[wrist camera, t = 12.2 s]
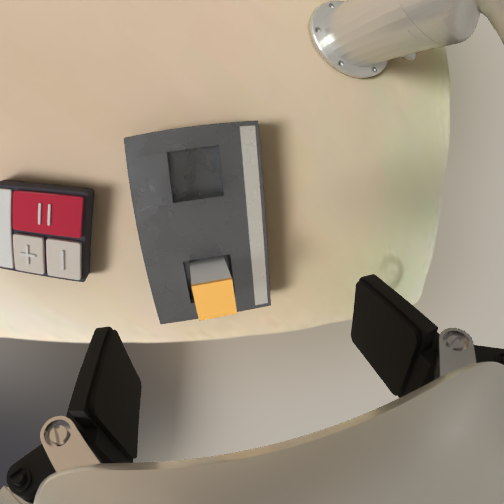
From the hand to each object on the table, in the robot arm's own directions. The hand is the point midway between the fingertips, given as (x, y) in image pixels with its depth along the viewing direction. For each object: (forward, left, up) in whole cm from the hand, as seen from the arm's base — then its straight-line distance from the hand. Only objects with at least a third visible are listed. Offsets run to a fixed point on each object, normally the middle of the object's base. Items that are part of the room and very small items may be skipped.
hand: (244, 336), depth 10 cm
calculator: (+21, -1, -26) cm, 33 cm away
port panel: (0, +2, -25) cm, 25 cm away
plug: (0, +8, -24) cm, 26 cm away
